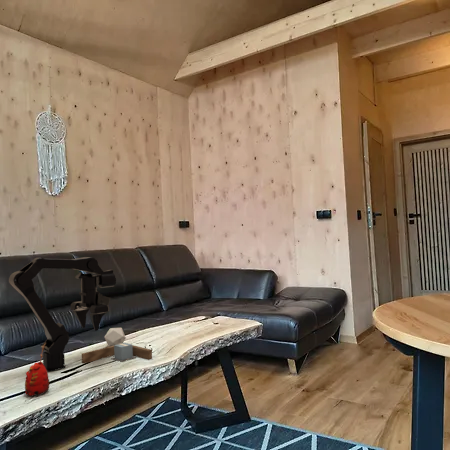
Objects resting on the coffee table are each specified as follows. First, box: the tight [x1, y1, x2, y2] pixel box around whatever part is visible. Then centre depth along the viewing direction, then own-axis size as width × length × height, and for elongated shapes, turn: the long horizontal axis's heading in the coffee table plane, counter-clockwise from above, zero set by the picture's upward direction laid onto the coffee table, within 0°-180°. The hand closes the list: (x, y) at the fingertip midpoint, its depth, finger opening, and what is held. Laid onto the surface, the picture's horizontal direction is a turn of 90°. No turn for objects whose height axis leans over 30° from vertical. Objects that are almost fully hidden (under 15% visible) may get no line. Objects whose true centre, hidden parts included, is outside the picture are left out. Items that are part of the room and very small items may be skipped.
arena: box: [81, 344, 153, 364], centre depth 160 cm, size 19×19×4 cm
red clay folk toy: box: [24, 343, 50, 397], centre depth 129 cm, size 8×7×15 cm
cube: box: [113, 342, 133, 360], centre depth 164 cm, size 5×5×5 cm
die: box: [104, 327, 127, 347], centre depth 183 cm, size 8×9×10 cm
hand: (90, 329), depth 163 cm, fingers open, 9 cm apart
